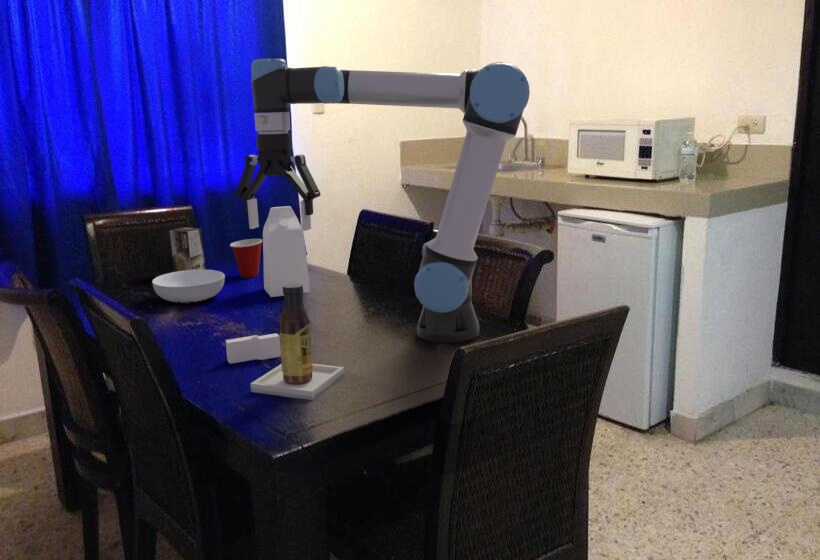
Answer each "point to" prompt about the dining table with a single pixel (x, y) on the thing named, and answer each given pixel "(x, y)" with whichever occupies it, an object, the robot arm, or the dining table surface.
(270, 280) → the milk
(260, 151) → the robot arm
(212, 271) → the serving bowl
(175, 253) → the coffee box
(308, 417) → the dining table surface
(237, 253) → the plastic cup
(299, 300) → the sauce bottle
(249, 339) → the white stepped block
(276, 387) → the tray
